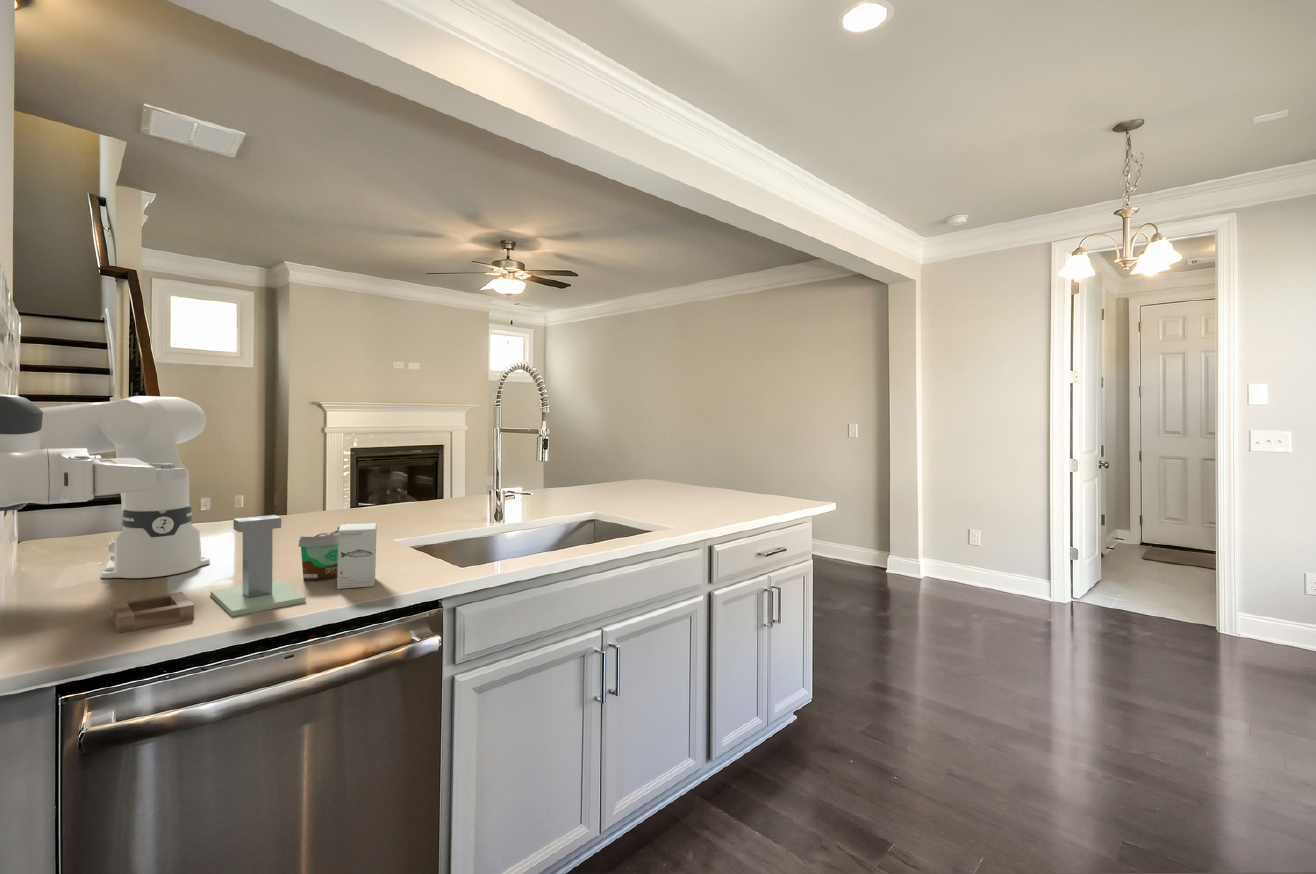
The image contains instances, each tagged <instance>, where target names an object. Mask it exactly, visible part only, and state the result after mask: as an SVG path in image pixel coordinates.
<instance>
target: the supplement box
mask: <svg viewBox="0 0 1316 874" xmlns="http://www.w3.org/2000/svg"><path fill="white" fill-rule="evenodd" d="M339 527H340V528H339V531H338V572H337V578H336V582H337V583H336V589H337V590H342V589H351V588H354V589H355V588H372V587H375V586H376V565H377V564H376V563H377V556H376V555H377V530H378V528H377V527H378V523H376V522H375V523H372V522H371V523H346V524H345V523H344V524H340V525H339Z"/></svg>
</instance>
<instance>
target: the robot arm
mask: <svg viewBox="0 0 1316 874" xmlns="http://www.w3.org/2000/svg"><path fill="white" fill-rule="evenodd" d="M206 424H207V417H206V413H205V411H204V410H203V408H202V407H201V406H200V405H198V404H197V403H195V402H193V401H191V400H189V399H185V398H183V397H178V396H155V395H153V396H152V395H134V396H129V397H125V398H121V399H118V400H115V401H113V400H112V401H102V402H101V401H100V402H99V401H98V402H87V403H85V402H84V403H78V404H77V403H76V404H68V405H66V404H65V405H57V406H48V407H38V406H37V405H36V404H35V403H34V402H32V401H31V400H29V399H28V398H26V397H22V396H18V395H14V394H5V393H0V512H7V511H19V510H22V509H23V508H24V507H26V506H27V505H28V504H29V503H31V504H39V505H52V504H53V505H54V504H69V503H82V502H83V503H85V502H88V501H92V500H94V497H95V496H96V497H97V496H109V495H118V494H119V495H120V494H124V507H125V508H124V509H123V510H122V515H121V522H122V523H121V525H122V526H123V528H122V531H121V532H119V533H118V534H117V535H116V537H114V540H113V541H111V542H109V543H108V554H112V555H111V556H110V559H109V560H108V562H107V563H106V565H105V567H104V569H103V570H102V572H101V577H100V578H102V579H113V578H115V579H116V578H122V579H123V578H124V579H145V578H156V577H157V578H158V577H164V576H172V575H177V574H181V573H185V572H189V571H192V570H196V568H200V567H201V566H205V565H208V564H211V561H210V559H211V558H209V557H205V556H202V546H201V544H202V543H201V530H200V529H199V528H197V527H196V526H194V525H193V524H192V523H191V522H192V520H193V510H192V508H193V507H192V506H191V504H190V472H189V470H188V468H187V467H186V466H184V464H183V462H182V460H181V457H180V455H179V452H178V448H177V445H178V444H179V445H180V444H184V443H186V442H189V441H191V440H193V439H194V438H196V437H198V436H199V435H201V434H202V432H203V431H204V430H205V428H206ZM113 452H116V453H117V455H118V457H116V458H115V457H113V458H112V457H111V458H102V456H101V455H100V454H103V453H113ZM93 454H95V455H93ZM97 454H99V455H97ZM113 553H114V554H113Z"/></svg>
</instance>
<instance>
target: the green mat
mask: <svg viewBox="0 0 1316 874" xmlns="http://www.w3.org/2000/svg"><path fill="white" fill-rule="evenodd" d="M210 597H211V598H212V599H214V601H215V602H216V603H217V604H218V605H219V606H221V608H222V609H223V610H225V611H226V612H227V613H228V614H229V615H230V616H231V617H237V616H241V615H242V616H243V615H247V614H252V613H257V612H262V611H267V610H272V609H277V608H282V607H288V606H289V607H290V606H293V605H298V604H304V603H306V602H307V601H306V596H304V595H303V594H301V593H300V592H298V591H297V590H295V588H293V587H292V586H290V585H288V584H287V583H285V582H284V581H283V580H281V579H275V580H273V579H272V594H271V595H265V596H260V597H254V598H249V599H248V598H247V597H246V596H245V595H244V594H243V585H238V586H231V587H226V588H219V589H213V590H210Z"/></svg>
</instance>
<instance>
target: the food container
mask: <svg viewBox="0 0 1316 874" xmlns="http://www.w3.org/2000/svg"><path fill="white" fill-rule="evenodd" d="M339 528H340V526H337V529H336V530H335V531H333V532H325V533H324V532H323V533H319V534H317V535H315V536H300V539H299V540H298V545H297V546H298V547H300V553H301V554H300V555H301V565H302V566H301V567H302V568H301V569H302V580H303V582H326V581H329V580H330V581H331V580H335V579H336V580H337V572H338V531H339Z"/></svg>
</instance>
